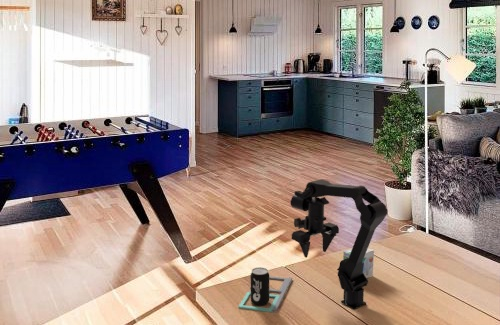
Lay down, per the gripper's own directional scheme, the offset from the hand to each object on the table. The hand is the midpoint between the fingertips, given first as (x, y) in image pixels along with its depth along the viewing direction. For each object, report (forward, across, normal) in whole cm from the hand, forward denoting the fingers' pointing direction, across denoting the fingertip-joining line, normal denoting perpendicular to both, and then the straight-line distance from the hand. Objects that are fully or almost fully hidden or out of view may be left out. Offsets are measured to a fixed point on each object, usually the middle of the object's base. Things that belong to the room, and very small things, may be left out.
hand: (315, 254), depth 204 cm
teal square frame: (+13, +24, -2) cm, 27 cm away
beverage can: (+13, +24, -2) cm, 27 cm away
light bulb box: (+13, -20, +3) cm, 24 cm away
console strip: (+13, +16, -5) cm, 21 cm away
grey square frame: (+13, +12, -12) cm, 21 cm away
